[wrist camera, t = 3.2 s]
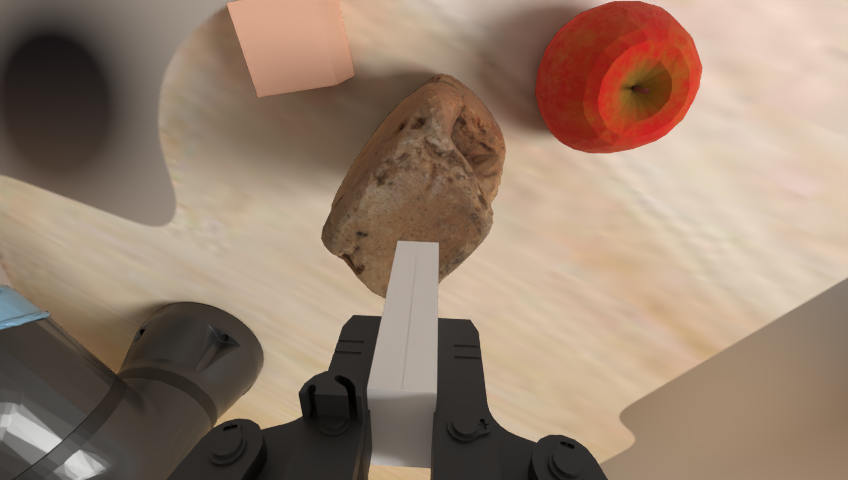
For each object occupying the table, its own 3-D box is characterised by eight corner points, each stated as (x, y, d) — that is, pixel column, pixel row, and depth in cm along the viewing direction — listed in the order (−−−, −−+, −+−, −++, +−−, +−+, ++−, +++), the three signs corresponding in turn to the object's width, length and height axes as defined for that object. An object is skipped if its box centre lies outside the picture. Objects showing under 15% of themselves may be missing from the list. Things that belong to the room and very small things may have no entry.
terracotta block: (290, 85, 34) (257, 97, 28) (267, 8, 32) (226, 2, 25) (355, 75, 34) (336, 84, 28) (337, -5, 31) (313, -14, 25)
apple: (683, 35, 31) (787, 36, 22) (609, 156, 36) (669, 199, 27) (566, -18, 30) (625, -40, 21) (506, 116, 35) (531, 147, 26)
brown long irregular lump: (418, 195, 39) (401, 330, 21) (360, 145, 37) (287, 250, 19) (497, 115, 35) (557, 198, 17) (438, 53, 33) (437, 77, 15)
